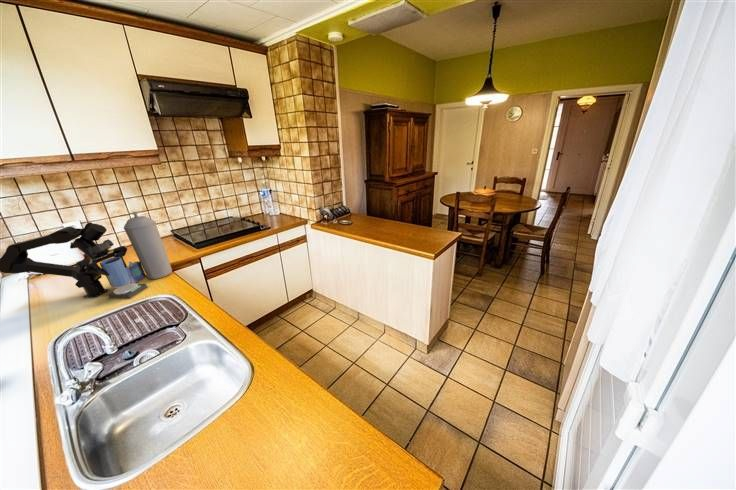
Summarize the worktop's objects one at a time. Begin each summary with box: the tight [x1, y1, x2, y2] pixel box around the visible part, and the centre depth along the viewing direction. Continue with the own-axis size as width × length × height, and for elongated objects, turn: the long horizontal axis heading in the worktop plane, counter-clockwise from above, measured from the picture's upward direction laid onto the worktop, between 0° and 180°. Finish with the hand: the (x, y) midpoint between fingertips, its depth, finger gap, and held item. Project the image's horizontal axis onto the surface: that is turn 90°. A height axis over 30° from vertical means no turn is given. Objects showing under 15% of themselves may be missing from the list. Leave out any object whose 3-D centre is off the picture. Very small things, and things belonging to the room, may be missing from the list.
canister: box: [123, 211, 173, 280], centre depth 136 cm, size 13×13×35 cm
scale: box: [107, 282, 148, 299], centre depth 127 cm, size 11×10×3 cm
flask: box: [126, 260, 147, 284], centre depth 137 cm, size 9×3×11 cm, turn 179°
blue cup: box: [99, 257, 131, 289], centre depth 122 cm, size 7×7×12 cm
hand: (117, 271), depth 122 cm, fingers closed on blue cup, 7 cm apart
